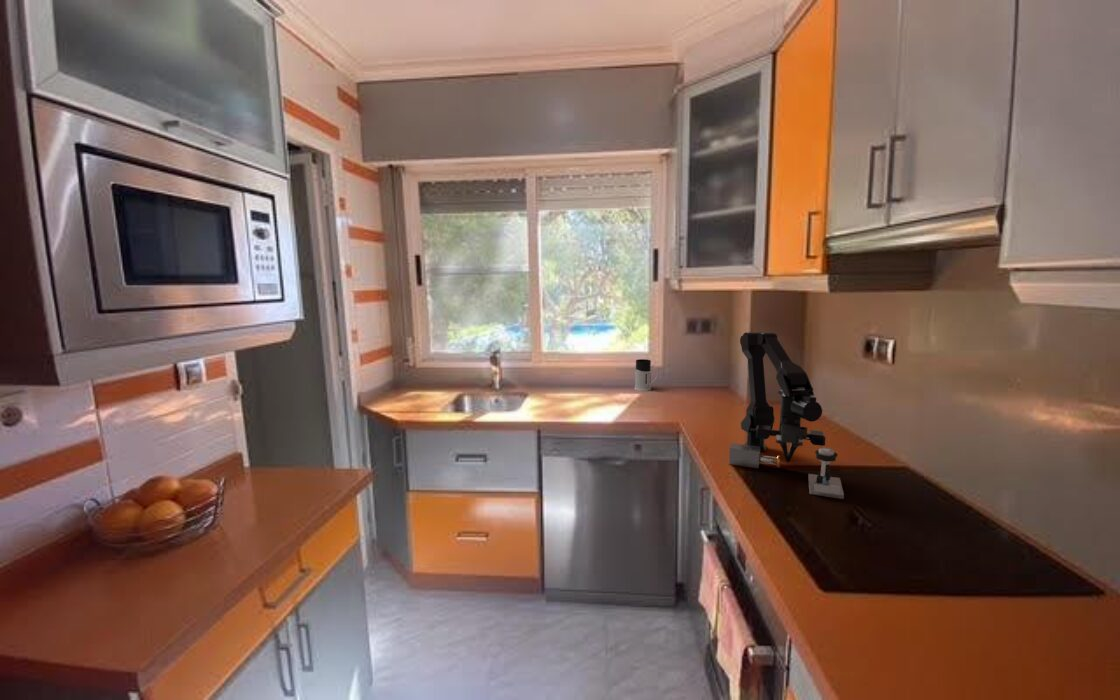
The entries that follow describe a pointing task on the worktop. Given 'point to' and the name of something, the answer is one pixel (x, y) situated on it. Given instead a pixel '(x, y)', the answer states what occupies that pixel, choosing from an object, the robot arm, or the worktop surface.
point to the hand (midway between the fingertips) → (787, 462)
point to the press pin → (770, 460)
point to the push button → (825, 464)
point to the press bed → (825, 487)
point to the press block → (744, 455)
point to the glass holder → (643, 375)
